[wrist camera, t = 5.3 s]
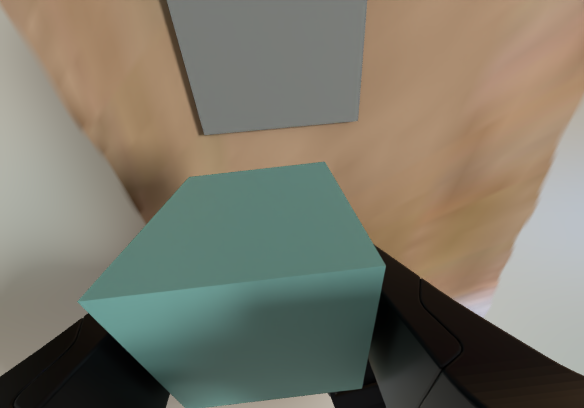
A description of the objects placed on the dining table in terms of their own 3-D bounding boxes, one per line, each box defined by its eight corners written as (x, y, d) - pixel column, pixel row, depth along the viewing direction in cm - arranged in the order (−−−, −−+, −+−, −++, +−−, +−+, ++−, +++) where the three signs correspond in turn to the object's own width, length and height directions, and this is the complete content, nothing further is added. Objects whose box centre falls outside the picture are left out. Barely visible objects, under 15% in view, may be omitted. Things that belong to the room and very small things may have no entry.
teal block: (326, 259, 10) (362, 388, 6) (224, 271, 10) (187, 409, 6) (324, 161, 8) (385, 265, 3) (189, 177, 8) (76, 301, 3)
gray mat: (355, 119, 17) (357, 120, 16) (206, 133, 17) (204, 135, 16) (372, -127, 11) (377, -138, 10) (140, -109, 11) (133, -118, 10)
